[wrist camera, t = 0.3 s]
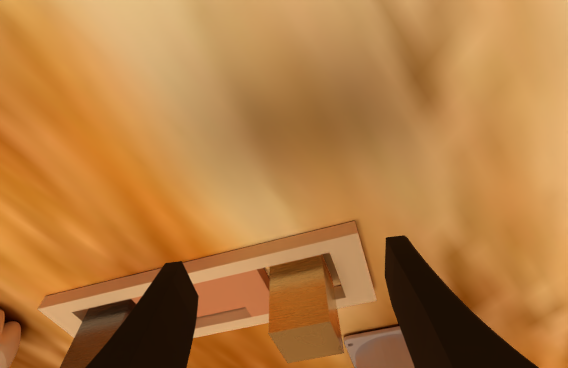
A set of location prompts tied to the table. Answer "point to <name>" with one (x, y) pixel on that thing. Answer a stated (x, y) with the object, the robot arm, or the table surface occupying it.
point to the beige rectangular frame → (231, 282)
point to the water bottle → (8, 341)
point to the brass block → (303, 310)
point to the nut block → (96, 332)
